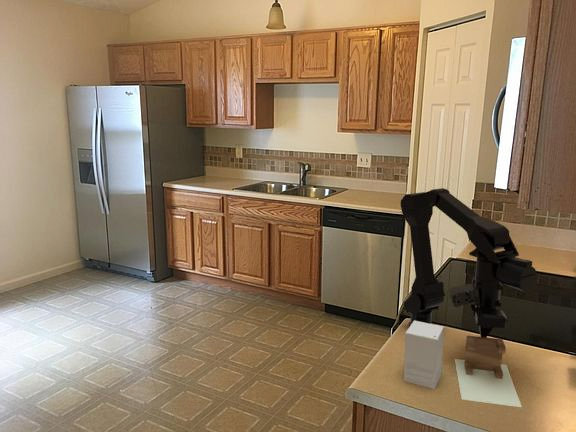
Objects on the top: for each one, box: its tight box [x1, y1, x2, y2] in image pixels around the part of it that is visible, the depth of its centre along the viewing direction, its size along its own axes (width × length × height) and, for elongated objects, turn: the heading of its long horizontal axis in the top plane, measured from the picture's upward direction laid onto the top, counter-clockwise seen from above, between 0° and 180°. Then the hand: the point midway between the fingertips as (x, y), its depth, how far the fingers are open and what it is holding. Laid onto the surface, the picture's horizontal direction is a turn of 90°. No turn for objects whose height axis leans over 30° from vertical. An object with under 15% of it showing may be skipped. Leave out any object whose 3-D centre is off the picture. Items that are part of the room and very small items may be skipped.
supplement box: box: [403, 320, 445, 390], centre depth 108 cm, size 7×7×13 cm
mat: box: [454, 358, 522, 408], centre depth 108 cm, size 17×12×1 cm
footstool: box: [464, 335, 507, 379], centre depth 111 cm, size 4×8×8 cm, turn 76°
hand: (483, 337), depth 114 cm, fingers closed
